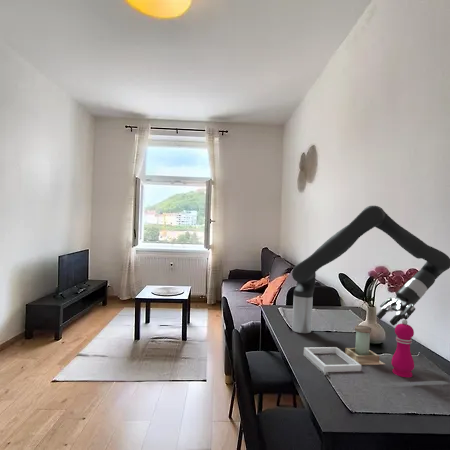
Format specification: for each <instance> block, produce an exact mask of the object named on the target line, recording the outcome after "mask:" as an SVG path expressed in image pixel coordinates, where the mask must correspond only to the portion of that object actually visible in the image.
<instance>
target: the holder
mask: <svg viewBox="0 0 450 450" xmlns="http://www.w3.org/2000/svg"><path fill="white" fill-rule="evenodd" d="M344 353H345V354H347V355H348V356H349V357H351V358H352V359H354V360H355V361H356V362H358V363H359V364H360V365H361V366H369V365H370V366H373V365H375V366H376V365H377V366H378V365H385V362H383V361H381V360H380V358H381V357H380V355H379V354H377V353H375V352H374V351H372V350H370V349H369V355H360V356H359V355H357V354H356V353H355V347H345V348H344Z"/></svg>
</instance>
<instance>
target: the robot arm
mask: <svg viewBox="0 0 450 450" xmlns="http://www.w3.org/2000/svg"><path fill="white" fill-rule="evenodd" d="M374 228H376V229H378V230H380V231H382V232H383V233H385V234H386V235H388V236H389V237H390V239H391V238H392V240H394V242H395V243H396V244H398V246H400V247H401V248H402V249H403V250H404V251H406V252H407V253H408V254H410V255H411V256H413V257H414V258H416V259H418V260H419V259H420V260H421V259H423V260H424V261H426V262H425V263H424V264H423V266H422V267H421V268H420V269H419V270H418V271H417V272H416V273H415V274H414V275H413V276H412V278H410V279H409V280H408V281H406V282H405V284H403V285H402V287H400V288H399V290H398V291H397V292H396V293H395V295H396V296H395V298H392V297H391V296H388V297H387V298H386V299H385V300H384V301H383V302H382V303H381V304H380V305H379V307H380V310H379V311H378V312H377V313H376V315H375V317H376V318H377V319H378V320H382V318H383V317H384V316H385V315H386V314H387V313H389V312H396V314H395V315H394V316H393V317H392V318H391V319H390V320H389V324H390V325H391V326H396V325H398V323H399V322H400V321H402V320H407V321H408V319H409V317H411V316H412V314H413V313H414V312H415V311H416V307H415V305H416V304H417V303H418V302H420V301H419V300H421V299H422V298H423V296H425V294H426V293H427V291H428V290H429V289H430V288H431V287H432V286H433V285H434V284H435V282H436V280H437V279H438V278H439V277H440V276H441V275H442V274H443V273H444V272H446V271H447V270H449V269H450V257H449V256H448V255H447V254H446V253H445V252H443V251H442V250H440V249H437V248H435V247H433V246H431V245H429V244H427V243H426V242H424V241H423V240H421V239H420V238H419V237H417V236H416V235H414V234H413V233H412V232H410V231H409V230H407V229H406V228H404V227H402V225H400V224H398V222H396V221H395V219H393V218H392V217H390V216H389V214H388V213H387V212H385V210H384V209H383V208H382V207H380V206H378V205H369V206H366V207H364V209H362V210H361V212H360V213H359V214H358V215H357V216H356V217H355V218H354V219H353V220H352V221H351V222H349V223H348V224H347V225H345V226H344V227H343V228H341V229H340V230H338V231H337V232H336V233H335V234H333V235H331V236H330V237H329V238H328V239H327V240H326V241H324V242H323V243H322V244H321V246H319V247H318V248H317V249H316V250H315V251H314V252H313V253H312V254H311V255H309V256H308V257H306V258H305V259H304V260H302V261H300V262H299V263H298V264H296V265H295V266H293V269H292V272H291V276H292V278H293V280H294V281H295V282H296V285H295V288H294V289H293V300H292V301H293V302H292V303H293V304H292V321H291V322H292V324H291V330H292V331H293V332H295V333H299V334H310V333H312V325H313V324H312V323H313V321H312V320H313V319H312V318H313V299H314V298H313V297H314V292H315V287H316V276H317V275H316V272H317V271H318V270H320V269H321V268H322V267H324V266H326V265H327V264H329V263H330V264H331V262H333V261H335V260H336V259H338V258H339V257H341V256H342V255H343V254H344V253H346V252H347V251H348V250H349V249H350V248H352V246H353V245H354V244H355V243H356V242H357V241H358V240H359V239H360V238H361V237H362V236H363V235H365V234H366V233H367V232H369V231H370V230H372V229H374Z"/></svg>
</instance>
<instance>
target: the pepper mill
mask: <svg viewBox="0 0 450 450" xmlns="http://www.w3.org/2000/svg"><path fill="white" fill-rule="evenodd" d="M394 333H395V335H396V336H395V341H396V349H395V352H393V353H394V354H393V355H392V357H391V363H390V364H391V366H392V367H393V368H392V373H393V374H394V375H396V376H397V377H402V378H412V377H413V372H412V371H413V370H414V369H415V362H414V358H413V355H412V353H411V352H412V351H411V344H413V342H412V341H413V340H412V338H413V337H414V335H415V331H414V328H413V326H411V325H410V324H408V319H407V320H405V319H402V320H401V323H399V324H398V323H397V324H396V325H395V327H394Z"/></svg>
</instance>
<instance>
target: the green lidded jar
mask: <svg viewBox="0 0 450 450" xmlns="http://www.w3.org/2000/svg"><path fill="white" fill-rule="evenodd" d="M354 330H355V344H354V345H355V347H354V348H355V353H356V354H357V355H359V356H360V355H369V350H370V343H371V342H370V341H371V340H370V337H371V335H370V334H371V333H372V327H370V326H367V325H361V324H358V325H354Z"/></svg>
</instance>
